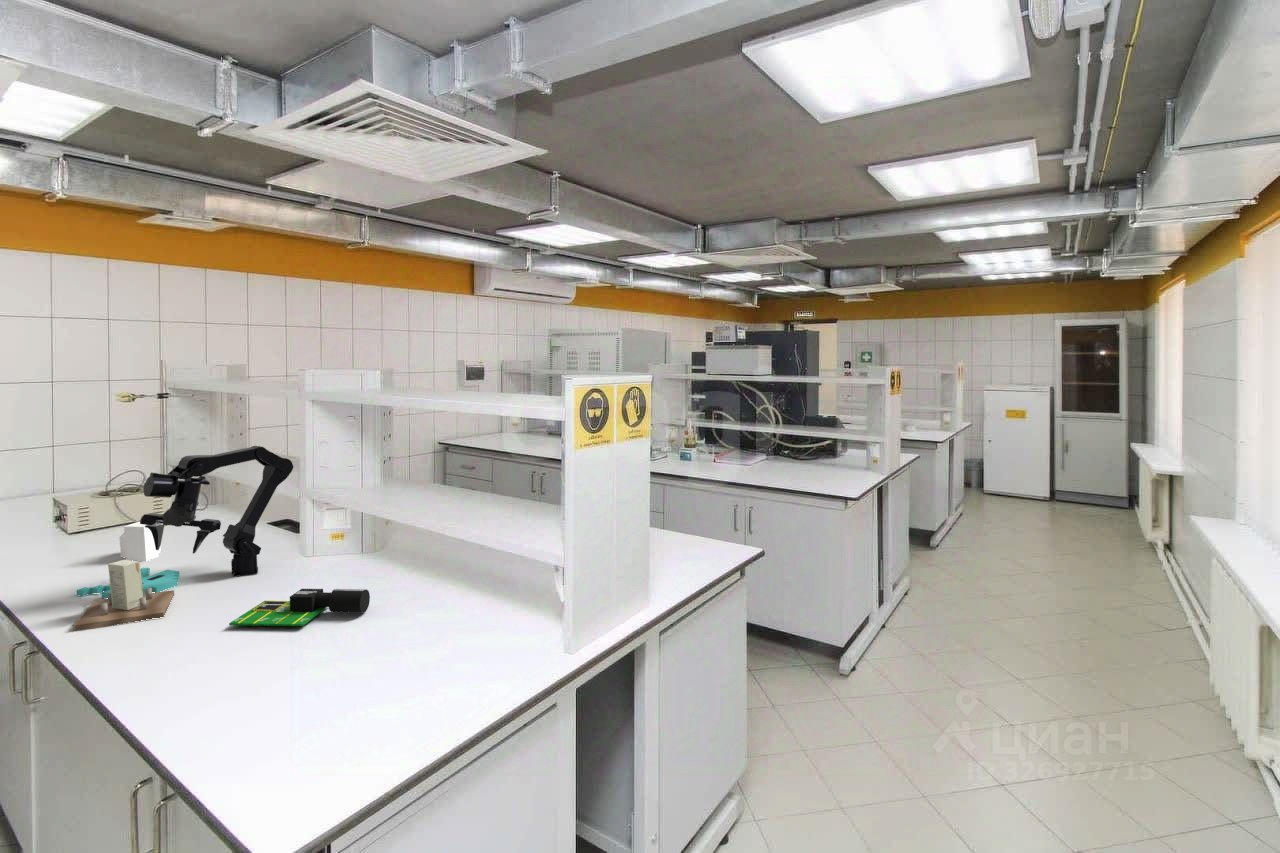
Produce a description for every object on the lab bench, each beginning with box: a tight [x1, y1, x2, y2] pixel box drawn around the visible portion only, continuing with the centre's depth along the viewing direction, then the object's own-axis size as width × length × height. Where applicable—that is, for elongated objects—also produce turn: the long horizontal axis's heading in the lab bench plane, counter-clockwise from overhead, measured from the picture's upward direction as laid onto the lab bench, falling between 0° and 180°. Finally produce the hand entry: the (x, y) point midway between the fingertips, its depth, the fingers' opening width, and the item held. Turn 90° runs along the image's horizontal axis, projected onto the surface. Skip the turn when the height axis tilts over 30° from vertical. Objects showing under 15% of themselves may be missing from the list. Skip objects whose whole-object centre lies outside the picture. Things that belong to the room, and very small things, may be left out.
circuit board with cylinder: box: [228, 588, 371, 627], centre depth 167 cm, size 30×7×15 cm
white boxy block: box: [118, 521, 162, 562], centre depth 216 cm, size 11×11×12 cm
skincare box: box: [107, 559, 143, 610], centre depth 169 cm, size 6×4×12 cm
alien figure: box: [75, 567, 180, 598], centre depth 188 cm, size 20×2×20 cm
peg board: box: [73, 588, 175, 632], centre depth 170 cm, size 18×18×4 cm
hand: (175, 551), depth 184 cm, fingers open, 9 cm apart
